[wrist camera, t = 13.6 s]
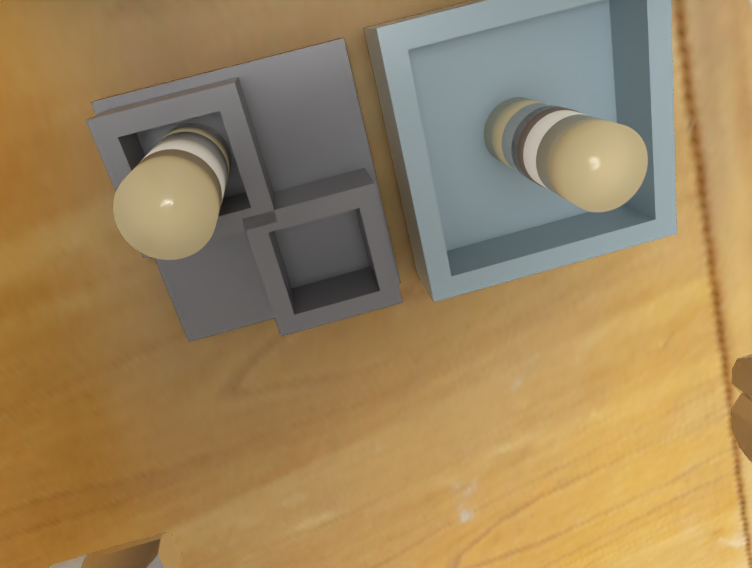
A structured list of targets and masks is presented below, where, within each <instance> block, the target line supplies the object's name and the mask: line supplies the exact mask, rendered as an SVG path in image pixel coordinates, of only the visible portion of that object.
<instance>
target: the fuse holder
mask: <svg viewBox="0 0 752 568" xmlns="http://www.w3.org/2000/svg"><path fill="white" fill-rule="evenodd" d="M91 104H92V107H93V109H94V112H95V114H96V115H95V116H93V117H92V118H90V119H88V120H86V122H87V124H88V127H89V129H90V131H91V134H92V136H93V139H94V141H95V143H96V146H97V148H98V151H99V153H100V155H101V158H102V160H103V163H104V165H105V167H106V170H107V172H108V175H109V177H110V179H111V182H112V184H113V187H114V189H115V191H117V189H118V187H119V185H120V184H121V182H122V181H123V180H124V179H125V178H126V177H127V175H128V174H129V173H130V172H131V171H132V170H133V169H134V168H135V167H136V166H137V165H138V164H139V163H140V161H141V160H142V159H143V158H144V157H145V156H146V155H147V154H148V153H149V152H150V151H151V150H152V149H153V147H154V146H155V145H156V144H157V143H158V142H159V141H160V140H161V139H162V138H163V137H164V136H165V135H166V134H167V133H168V132H169V131H170V130H171V129H172V128H174V127H176V126H178V125H181V124H184V123H200V124H204V125H206V126H209V127H211V128H212V129H214V130H216V131H217V132H218V133H219V134H220V135H221V136H222V137H223V138H224V140H225V141H226V143H227V145H228V147H229V149H230V153H231V169H230V173H229V176H228V180H227V184H226V188H225V192H224V196H223V200H222V204H221V207H220V211H219V215H218V219H217V223H216V227H215V230H214V232H213V235H212V237H211V238H210V240H209V241H208V242H207V244H206V245H205V246H204V247H203V248H202V249H200V250H199V251H198V252H196V253H195V254H193V255H190V256H188V257H185V258H182V259H177V260H162V259H156V258H155V261H156V263H157V266H158V268H159V271H160V273H161V276H162V278H163V281H164V283H165V285H166V288H167V290H168V293H169V295H170V298H171V300H172V303H173V305H174V307H175V310H176V312H177V315H178V317H179V320H180V322H181V325H182V327H183V329H184V332H185V334H186V337H187V339H188V342H191V341H195V340H198V339H202V338H205V337H209V336H213V335H216V334H220V333H223V332H227V331H231V330H234V329H238V328H241V327H245V326H249V325H252V324H256V323H259V322H263V321H267V320H270V319H274V318H275V320H276V323H277V326H278V329H279V332H280V335H281V336H285V335H288V334H292V333H296V332H299V331H303V330H306V329H310V328H313V327H317V326H321V325H324V324H328V323H331V322H335V321H338V320H342V319H345V318H349V317H353V316H356V315H360V314H363V313H367V312H370V311H374V310H378V309H381V308H385V307H388V306H392V305H395V304H399V303H403V302H402V298H401V294H400V289H399V285H398V284H399V283H401V282H400V278H399V274H398V270H397V265H396V261H395V257H394V252H393V248H392V244H391V239H390V235H389V231H388V226H387V222H386V218H385V214H384V209H383V205H382V201H381V196H380V192H379V188H378V183H377V179H376V175H375V171H374V166H373V162H372V158H371V153H370V149H369V145H368V140H367V136H366V132H365V127H364V123H363V119H362V115H361V110H360V106H359V102H358V97H357V93H356V89H355V84H354V80H353V76H352V71H351V67H350V63H349V59H348V54H347V50H346V46H345V41H344V38H339V39H335V40H332V41H328V42H324V43H320V44H316V45H312V46H308V47H304V48H300V49H296V50H292V51H288V52H284V53H280V54H276V55H272V56H268V57H265V58H261V59H257V60H253V61H249V62H245V63H241V64H237V65H233V66H229V67H225V68H221V69H217V70H213V71H209V72H205V73H202V74H198V75H194V76H190V77H186V78H182V79H178V80H174V81H170V82H166V83H162V84H158V85H154V86H150V87H146V88H142V89H138V90H135V91H131V92H127V93H123V94H119V95H115V96H111V97H107V98H103V99H99V100H96V101H93V102H91ZM141 254H142V256H143V258H145V257H149V256H147V255H145V254H143V253H141Z"/></svg>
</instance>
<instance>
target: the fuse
mask: <svg viewBox="0 0 752 568" xmlns="http://www.w3.org/2000/svg"><path fill="white" fill-rule="evenodd" d="M230 169H231V153H230V149H229V147H228V145H227V143H226V141H225V140H224V138H223V137H222V136H221V135H220V134H219V133H218V132H217V131H216V130H214V129H212V128H211V127H209V126H206V125H204V124H200V123H184V124H181V125H178V126H176V127H174V128H172V129H171V130H170V131H169V132H168V133H167V134H166V135H165V136H164V137H163V138H162V139H161V140H160V141H159V142H158V143H157V144H156V145H155V146H154V147H153V149H152V150H151V151H150V152H149V153H148V154H147V155H146V156H145V157H144V158H143V159H142V160H141V161H140V163H139V164H138V165H137V166H136V167H135V168H134V169H133V170H132V171H131V172H130V173H129V174H128V175H127V177H126V178H125V179H124V180H123V181H122V182H121V184H120V185H119V187H118V189H117V191H116V193H115V197H114V201H113V215H114V220H115V223H116V226H117V228H118V230H119V232H120V233H121V235H122V236H123V238H124V239H125V240H126V241H127V242H128V243H129V244H130V245H131V246H132V247H133V248H135V249H136V250H137V251H139V252H141V253H143V254H145V255H147V256H149V257H153V258H156V259H162V260H177V259H182V258H185V257H188V256H190V255H193V254H195V253H196V252H198V251H199V250H200V249H202V248H203V247H204V246H205V245H206V244H207V242H208V241H209V240H210V238H211V237H212V235H213V232H214V230H215V227H216V223H217V219H218V215H219V211H220V207H221V204H222V200H223V196H224V192H225V188H226V184H227V180H228V176H229V173H230Z"/></svg>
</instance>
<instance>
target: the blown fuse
mask: <svg viewBox="0 0 752 568" xmlns="http://www.w3.org/2000/svg"><path fill="white" fill-rule="evenodd" d="M484 140H485V144H486V147H487V149H488V151H489V152H490V154H491V155H492V156H493V157H494V158H495V159H497V160H499V161H500V162H502V163H504V164H505V165H507V166H509V167H511V168H512V169H514V170H516V171H518V172H519V173H521V174H522V175H523V176H524V177H526V178H528V179H529V180H531V181H533V182H534V183H536V184H538V185H540V186H542V187H545V188H547V189H549V190H550V191H552V192H554V193H556V194H557V195H559V196H561V197H562V198H564V199H566V200H568V201H569V202H571V203H573V204H575V205H576V206H578V207H580V208H582V209H584V210H586V211H590V212H598V213H599V212H607V211H610V210H613V209H616V208H618V207H620V206H621V205H623V204H625V203H626V202H627V201H628V200H629V199H630V198H631V197H633V195H634V194H635V193H636V192H637V191H638V189H639V187H640V186H641V184H642V182H643V180H644V177H645V175H646V171H647V165H648V155H647V149H646V146H645V143H644V141H643V140H642V138H641V137H640V135H639V134H638V133H637V132H636V131H635V130H633V129H632V128H630V127H628V126H625V125H622V124H618V123H615V122H611V121H607V120H604V119H600V118H597V117H593V116H589V115H586V114H582V113H580V112H578V111H575V110H572V109H568V108H564V107H561V106H554V105H549V104H546V103H542V102H538V101H535V100H531V99H528V98H523V97H514V98H510V99H507V100H505V101H503V102H501V103H500V104H499V105H497V106H496V107H495V108H494V109H493V110H492V112H491V113H490V115H489V117H488V118H487V121H486V124H485V128H484Z"/></svg>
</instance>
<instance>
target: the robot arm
mask: <svg viewBox="0 0 752 568" xmlns="http://www.w3.org/2000/svg"><path fill="white" fill-rule="evenodd" d="M732 385H733V386H734V387H735V388H736V389H737V390H738V391H739V392H740V393H741V394H740V396H739V398H738V399H737V401H736V402H735V404H734V406H733V407H732V409H731V422H732V431H733V433H734V435H735V438H736V440H737V443H738V445H739V447H740V449H741V450H742V451H743V452H744V454H745V455H746V456H747V458H748V459H749V460H750V461H751V462H752V354H751V355H747V356H744V357H741V358H738V359H737V360H736V362H735V364H734V366H733V368H732ZM181 555H182V552H181V550H180V548H179V546H178V545H177V543H176V541H175V539H174V537H173V535H172V534H169V533H167V532H164V533H161V534H157V535H153V536H150V537H146V538H143V539H139V540H136V541H132V542H128V543H125V544H121V545H118V546H114V547H111V548H107V549H103V550H100V551H96V552H93V553H91V554H90V555H84V556H80V557H77V558H74V559H70V560H67V561H63V562H60V563H56V564H53V565H51V566H50V567H49V568H180V563H181Z"/></svg>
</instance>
